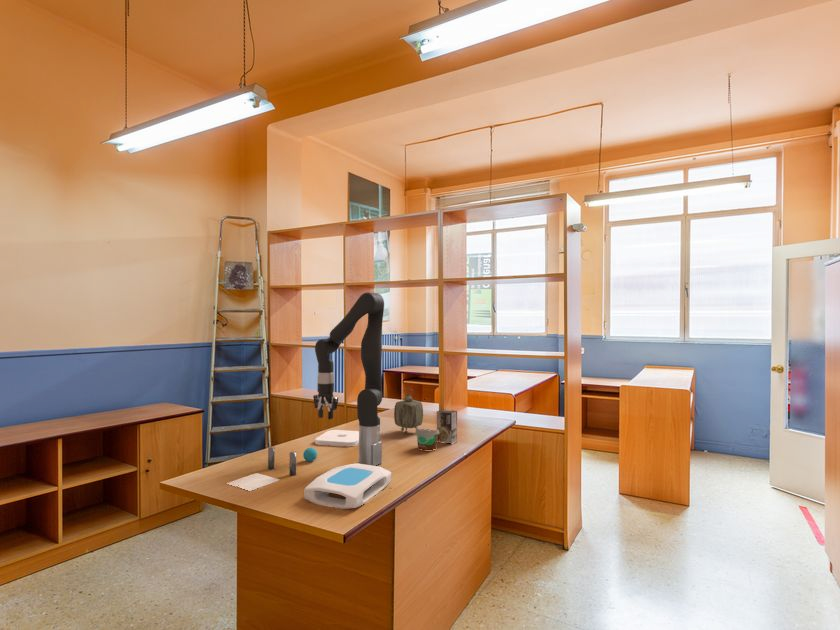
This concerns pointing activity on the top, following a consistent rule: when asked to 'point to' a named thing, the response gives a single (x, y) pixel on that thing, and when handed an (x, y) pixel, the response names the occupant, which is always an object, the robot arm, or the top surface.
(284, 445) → the top surface
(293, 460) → the post
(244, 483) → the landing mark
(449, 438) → the coffee box
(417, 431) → the food container
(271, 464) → the post
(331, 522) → the top surface
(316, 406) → the robot arm
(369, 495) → the step platform
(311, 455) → the ball
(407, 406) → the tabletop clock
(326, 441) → the computer
